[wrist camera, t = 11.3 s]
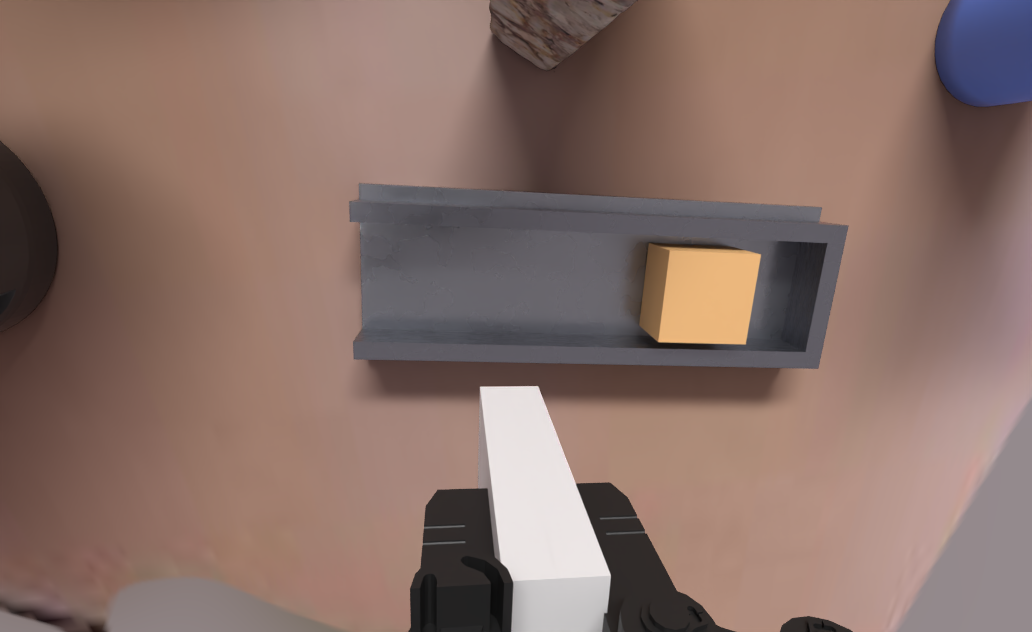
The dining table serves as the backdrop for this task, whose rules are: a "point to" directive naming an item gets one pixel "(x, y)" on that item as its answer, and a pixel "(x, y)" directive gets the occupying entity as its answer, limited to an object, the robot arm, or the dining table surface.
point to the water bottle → (986, 51)
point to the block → (698, 293)
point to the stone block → (551, 26)
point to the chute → (575, 276)
